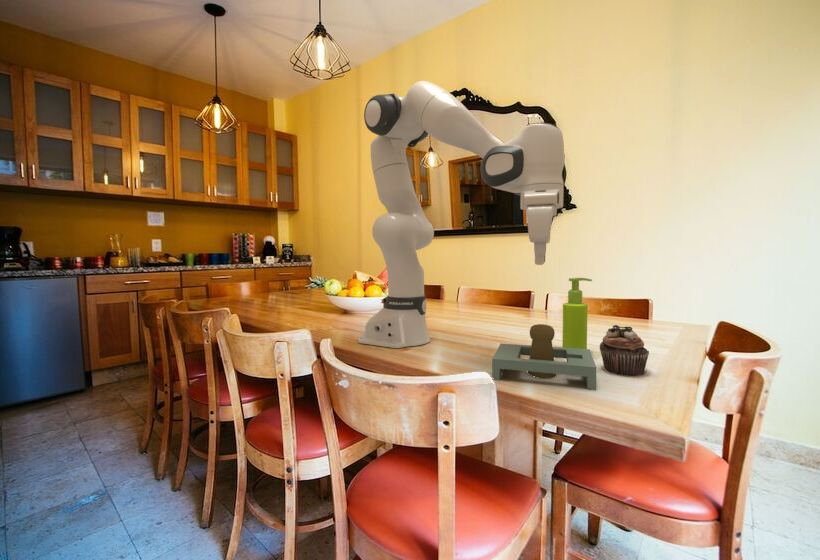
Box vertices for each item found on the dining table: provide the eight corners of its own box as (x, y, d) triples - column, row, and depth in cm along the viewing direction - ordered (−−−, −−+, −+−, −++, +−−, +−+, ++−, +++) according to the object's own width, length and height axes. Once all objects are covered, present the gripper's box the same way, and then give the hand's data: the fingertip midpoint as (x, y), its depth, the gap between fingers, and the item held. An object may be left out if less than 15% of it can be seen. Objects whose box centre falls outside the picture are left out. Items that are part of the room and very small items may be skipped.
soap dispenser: (594, 356, 96) (596, 278, 94) (567, 356, 96) (568, 278, 94) (584, 350, 102) (585, 276, 100) (559, 350, 102) (559, 277, 100)
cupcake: (650, 380, 78) (651, 332, 77) (598, 373, 83) (598, 328, 82) (647, 367, 86) (648, 324, 85) (600, 362, 91) (600, 321, 90)
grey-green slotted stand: (492, 379, 80) (492, 358, 80) (500, 361, 93) (500, 343, 93) (596, 389, 73) (596, 367, 73) (589, 368, 86) (589, 349, 86)
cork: (558, 379, 79) (559, 328, 79) (528, 377, 81) (529, 327, 80) (553, 370, 85) (554, 322, 84) (526, 369, 86) (526, 322, 86)
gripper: (529, 206, 92) (528, 262, 93) (522, 195, 73) (521, 265, 74) (556, 204, 90) (555, 262, 91) (557, 193, 71) (555, 266, 72)
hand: (540, 263), depth 83 cm, fingers open, 8 cm apart
